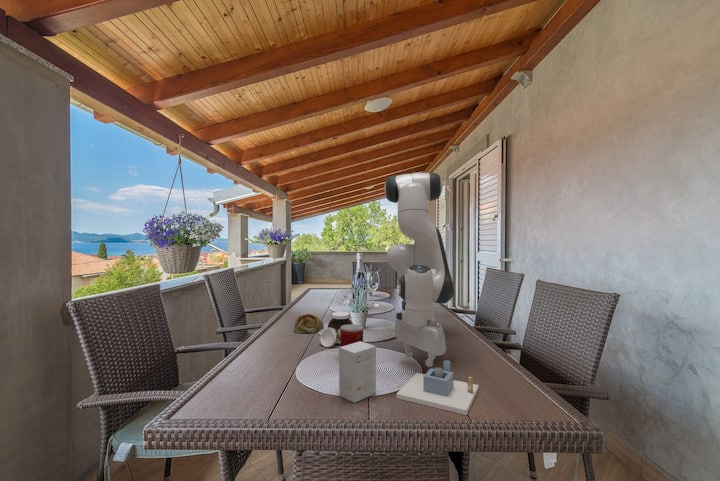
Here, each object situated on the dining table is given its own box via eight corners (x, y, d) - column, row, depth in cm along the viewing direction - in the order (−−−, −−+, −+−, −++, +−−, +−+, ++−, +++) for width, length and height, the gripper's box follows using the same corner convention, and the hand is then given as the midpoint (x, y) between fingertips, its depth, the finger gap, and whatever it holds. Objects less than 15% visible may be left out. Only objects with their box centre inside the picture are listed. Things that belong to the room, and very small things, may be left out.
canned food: (360, 363, 117) (360, 330, 116) (337, 361, 118) (337, 329, 118) (365, 355, 124) (365, 324, 124) (343, 354, 126) (343, 323, 126)
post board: (416, 376, 106) (416, 354, 106) (478, 389, 97) (478, 365, 97) (396, 398, 92) (396, 372, 92) (466, 415, 83) (466, 387, 83)
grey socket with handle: (436, 374, 104) (436, 358, 104) (458, 379, 101) (458, 362, 101) (423, 391, 93) (423, 372, 93) (447, 396, 90) (447, 377, 90)
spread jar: (354, 340, 142) (354, 312, 141) (349, 349, 130) (349, 318, 130) (326, 339, 144) (326, 311, 144) (318, 347, 133) (318, 317, 132)
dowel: (468, 390, 94) (468, 375, 94) (473, 391, 93) (473, 376, 93) (466, 392, 93) (467, 377, 93) (472, 393, 92) (472, 378, 92)
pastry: (297, 336, 148) (297, 317, 148) (290, 328, 160) (290, 311, 160) (328, 332, 154) (328, 314, 154) (319, 325, 166) (319, 308, 166)
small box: (360, 386, 99) (360, 340, 99) (376, 393, 94) (376, 345, 94) (338, 395, 93) (338, 346, 93) (354, 403, 89) (354, 352, 89)
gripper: (450, 323, 102) (450, 370, 103) (406, 310, 120) (406, 350, 120) (434, 326, 99) (434, 374, 99) (391, 312, 117) (391, 353, 117)
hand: (418, 361), depth 110 cm, fingers open, 8 cm apart
